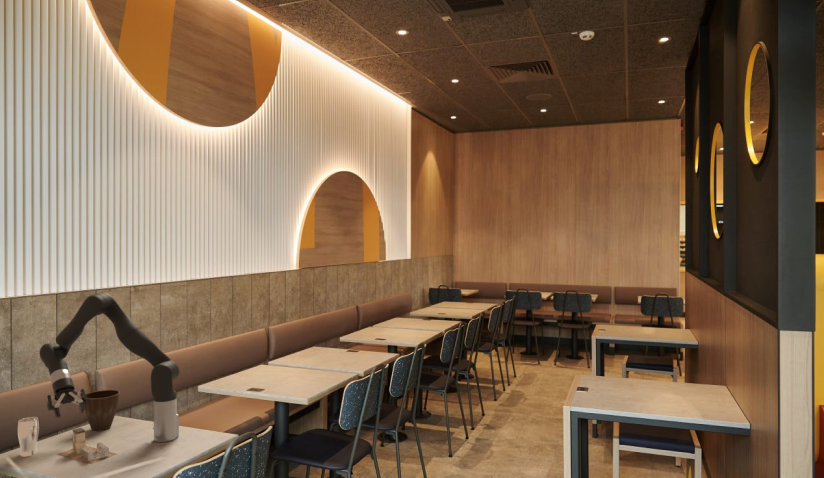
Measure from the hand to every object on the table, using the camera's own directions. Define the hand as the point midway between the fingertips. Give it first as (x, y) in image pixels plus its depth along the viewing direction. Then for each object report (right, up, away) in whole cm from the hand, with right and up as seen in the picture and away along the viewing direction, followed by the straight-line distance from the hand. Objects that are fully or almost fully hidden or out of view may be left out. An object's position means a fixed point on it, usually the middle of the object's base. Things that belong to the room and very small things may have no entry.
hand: (70, 414), depth 229 cm
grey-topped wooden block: (+8, -13, -7) cm, 17 cm away
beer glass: (-12, -15, -8) cm, 21 cm away
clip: (+17, -13, -11) cm, 24 cm away
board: (+12, -14, -9) cm, 21 cm away
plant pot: (-1, -15, +24) cm, 29 cm away
